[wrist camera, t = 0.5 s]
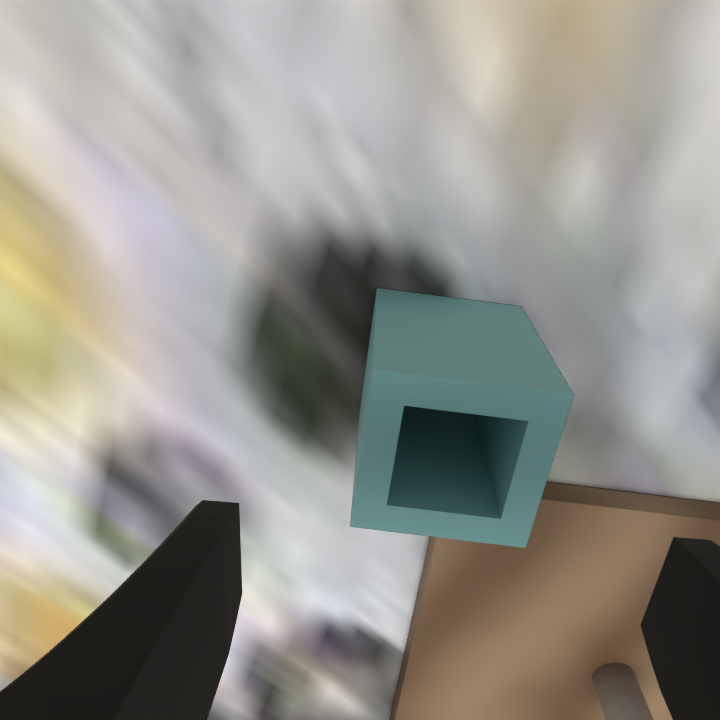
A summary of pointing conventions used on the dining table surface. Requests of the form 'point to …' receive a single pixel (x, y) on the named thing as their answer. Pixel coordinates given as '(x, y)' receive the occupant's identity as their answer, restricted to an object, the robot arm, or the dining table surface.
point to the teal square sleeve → (455, 420)
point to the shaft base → (547, 613)
